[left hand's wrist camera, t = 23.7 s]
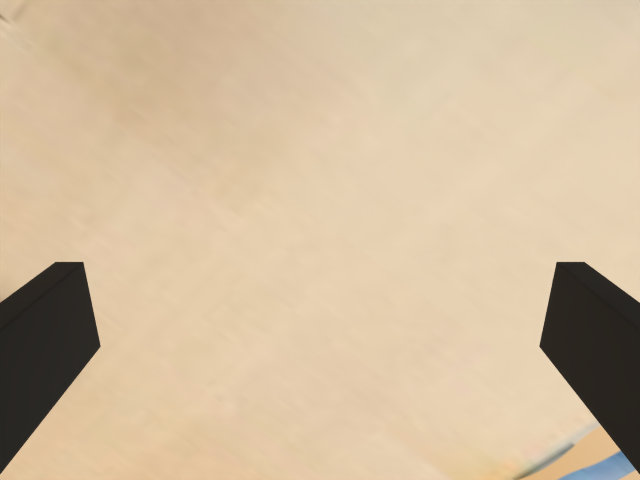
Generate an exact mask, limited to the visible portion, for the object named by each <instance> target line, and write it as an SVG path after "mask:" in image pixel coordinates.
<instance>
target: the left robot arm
mask: <svg viewBox="0 0 640 480" xmlns="http://www.w3.org/2000/svg"><path fill="white" fill-rule="evenodd" d="M100 347H101V346H100V341H99V336H98V332H97V327H96V322H95V317H94V312H93V307H92V302H91V297H90V293H89V288H88V283H87V278H86V273H85V268H84V263H83V262H55V263H54V264H52V265H51V266H50V267H48V268H47V269H46V270H44V271H43V272H41V273H40V274H39V275H37V276H36V277H35V278H33V279H32V280H31V281H29V282H28V283H27V284H25V285H24V286H22V287H21V288H20V289H18V290H17V291H16V292H14V293H13V294H12V295H10V296H9V297H8V298H6V299H5V300H3V301H2V302H1V303H0V474H1V473H2V471H3V470H4V469H5V468H6V466H7V465H8V464H9V462H10V461H11V460H12V459H13V457H14V456H15V455H16V454H17V452H18V451H19V450H20V448H21V447H22V446H23V445H24V443H25V442H26V441H27V440H28V438H29V437H30V436H31V434H32V433H33V432H34V431H35V429H36V428H37V427H38V426H39V424H40V423H41V422H42V420H43V419H44V418H45V417H46V415H47V414H48V413H49V412H50V410H51V409H52V408H53V406H54V405H55V404H56V403H57V401H58V400H59V399H60V398H61V396H62V395H63V394H64V392H65V391H66V390H67V389H68V387H69V386H70V385H71V384H72V382H73V381H74V380H75V378H76V377H77V376H78V375H79V373H80V372H81V371H82V370H83V368H84V367H85V366H86V364H87V363H88V362H89V361H90V359H91V358H92V357H93V356H94V354H95V353H96V352H97V350H98V349H99V348H100ZM539 347H540V348H541V349H542V350H543V352H544V353H545V354H546V356H547V357H548V358H549V359H550V361H551V362H552V363H553V364H554V366H555V367H556V368H557V370H558V371H559V372H560V373H561V375H562V376H563V377H564V378H565V380H566V381H567V382H568V384H569V385H570V386H571V387H572V389H573V390H574V391H575V392H576V394H577V395H578V396H579V398H580V399H581V400H582V401H583V403H584V404H585V405H586V406H587V408H588V409H589V410H590V412H591V413H592V414H593V415H594V417H595V418H596V419H597V420H598V422H599V423H600V424H601V426H602V427H603V428H604V429H605V431H606V432H607V433H608V434H609V436H610V437H611V438H612V440H613V441H614V442H615V443H616V445H617V446H618V447H619V448H620V450H621V451H622V452H623V454H624V455H625V456H626V457H627V459H628V460H629V461H630V462H631V464H632V465H633V466H634V468H635V469H636V470H637V471H638V473H639V474H640V303H639V302H638V301H637V300H635V299H634V298H632V297H631V296H630V295H628V294H627V293H626V292H624V291H623V290H622V289H620V288H619V287H618V286H616V285H615V284H613V283H612V282H611V281H609V280H608V279H607V278H605V277H604V276H603V275H601V274H600V273H599V272H597V271H596V270H594V269H593V268H592V267H590V266H589V265H588V264H586V263H585V262H557V263H556V268H555V273H554V278H553V283H552V288H551V293H550V297H549V302H548V307H547V312H546V317H545V322H544V327H543V332H542V336H541V341H540V346H539Z"/></svg>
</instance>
